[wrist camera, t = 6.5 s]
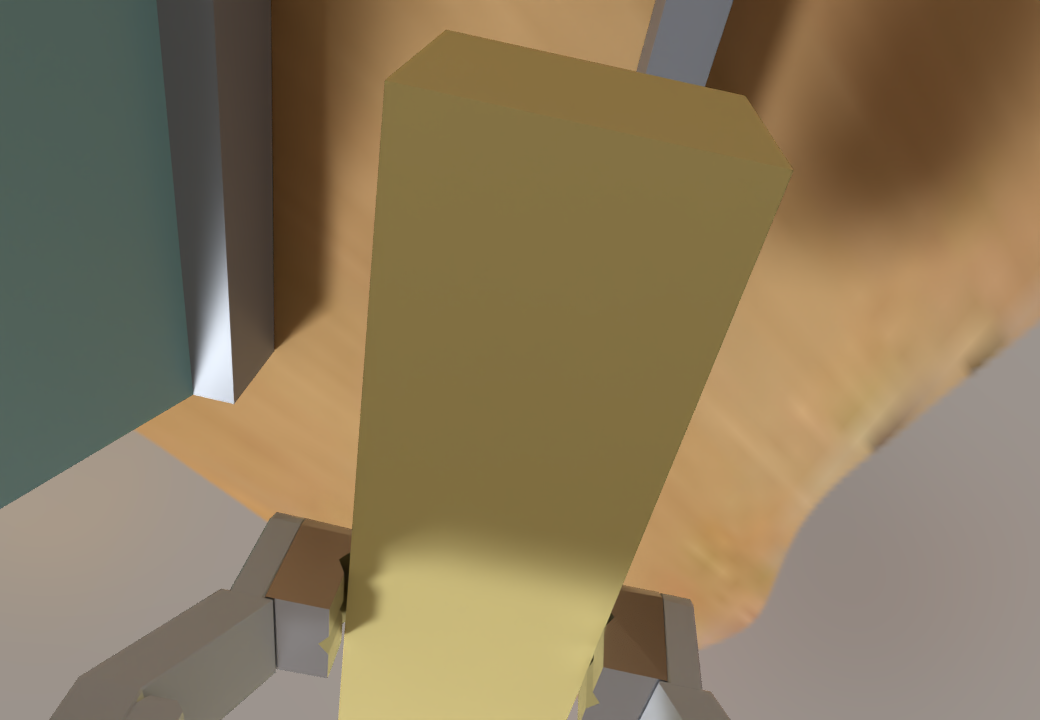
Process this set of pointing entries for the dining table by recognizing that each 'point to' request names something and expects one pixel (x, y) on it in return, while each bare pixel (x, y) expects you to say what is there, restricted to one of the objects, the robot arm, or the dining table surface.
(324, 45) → the dining table surface
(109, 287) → the panel
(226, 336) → the pair of grey bars
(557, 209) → the pale yellow strip
